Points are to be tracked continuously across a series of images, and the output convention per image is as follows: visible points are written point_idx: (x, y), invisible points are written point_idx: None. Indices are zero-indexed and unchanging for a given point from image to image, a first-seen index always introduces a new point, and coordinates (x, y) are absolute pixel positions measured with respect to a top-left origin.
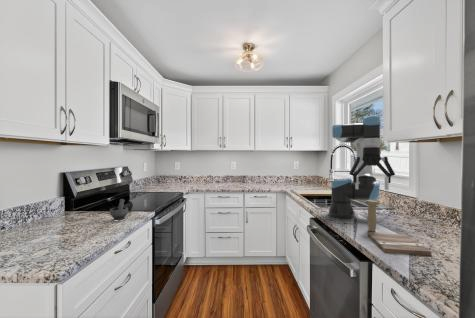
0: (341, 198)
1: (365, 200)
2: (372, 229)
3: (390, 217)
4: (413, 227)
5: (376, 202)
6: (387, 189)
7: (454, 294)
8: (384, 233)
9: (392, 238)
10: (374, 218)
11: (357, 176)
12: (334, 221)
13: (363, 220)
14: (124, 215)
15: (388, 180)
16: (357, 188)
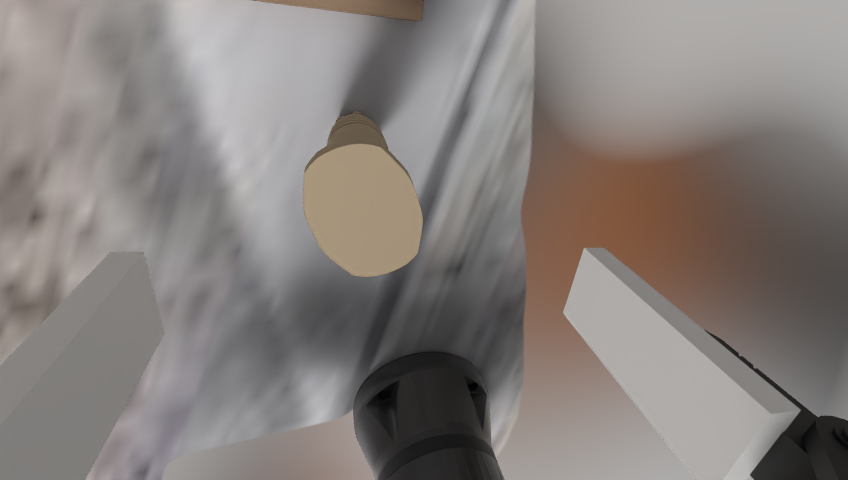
0: (467, 467)
1: (417, 247)
2: (358, 111)
3: (142, 434)
4: (36, 257)
5: (341, 146)
6: (126, 258)
7: None
8: (311, 2)
9: None
10: (348, 127)
11: (786, 410)
12: (498, 292)
13: (328, 342)
14: None
15: None
16: (603, 255)
